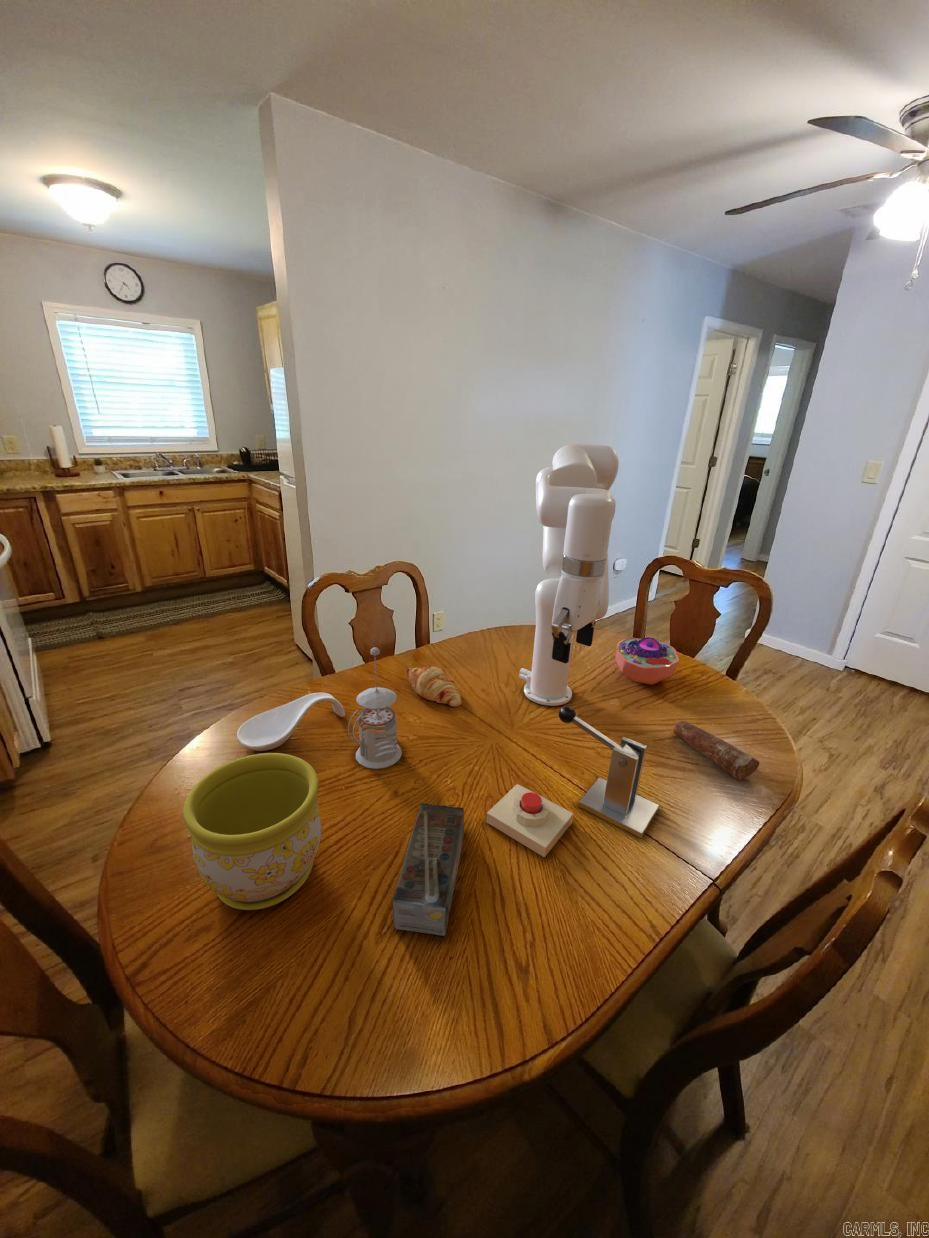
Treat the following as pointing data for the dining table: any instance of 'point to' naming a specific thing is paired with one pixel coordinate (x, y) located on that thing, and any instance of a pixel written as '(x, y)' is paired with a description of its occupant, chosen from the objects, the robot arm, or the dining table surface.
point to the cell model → (646, 659)
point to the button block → (530, 821)
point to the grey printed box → (429, 870)
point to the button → (531, 803)
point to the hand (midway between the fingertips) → (572, 652)
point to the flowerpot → (255, 828)
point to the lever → (591, 730)
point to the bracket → (622, 792)
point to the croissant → (434, 685)
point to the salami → (717, 750)
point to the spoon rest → (280, 722)
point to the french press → (377, 713)
